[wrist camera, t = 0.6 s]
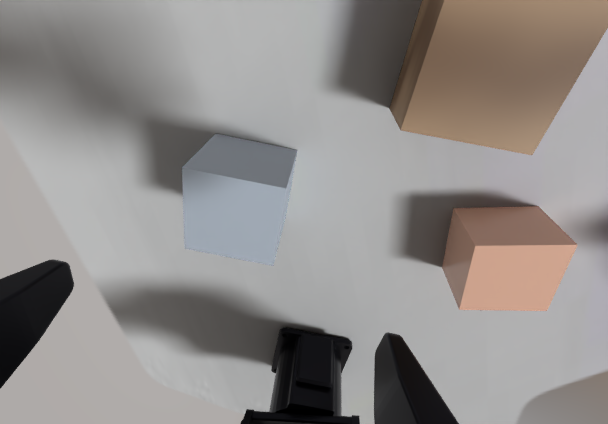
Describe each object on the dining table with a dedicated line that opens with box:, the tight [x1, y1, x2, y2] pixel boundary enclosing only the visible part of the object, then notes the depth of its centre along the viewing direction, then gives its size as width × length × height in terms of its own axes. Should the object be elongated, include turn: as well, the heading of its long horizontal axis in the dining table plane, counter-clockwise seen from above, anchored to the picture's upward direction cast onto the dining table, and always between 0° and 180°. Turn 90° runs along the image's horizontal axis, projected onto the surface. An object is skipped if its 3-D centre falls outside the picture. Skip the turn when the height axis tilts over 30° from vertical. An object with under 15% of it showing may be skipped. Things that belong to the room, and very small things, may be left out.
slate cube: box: [182, 134, 297, 266], centre depth 18 cm, size 5×5×5 cm
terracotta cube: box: [442, 206, 577, 311], centre depth 20 cm, size 5×5×4 cm
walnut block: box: [390, 0, 608, 155], centre depth 14 cm, size 6×6×4 cm
